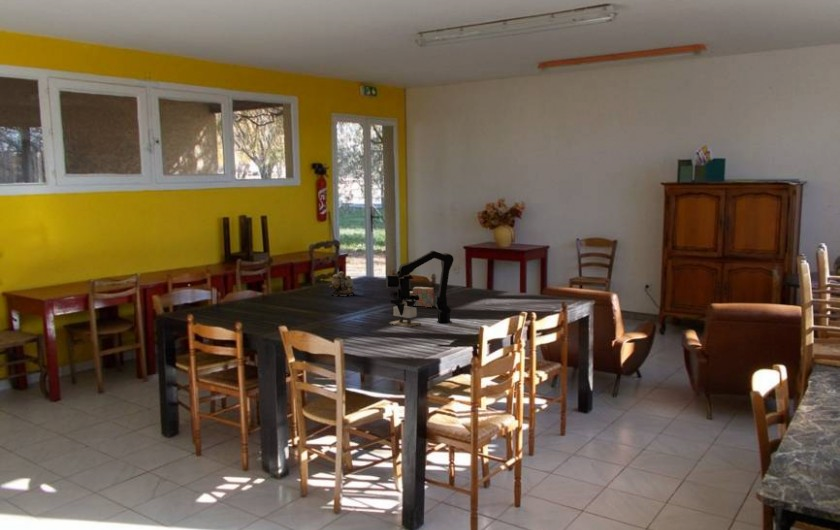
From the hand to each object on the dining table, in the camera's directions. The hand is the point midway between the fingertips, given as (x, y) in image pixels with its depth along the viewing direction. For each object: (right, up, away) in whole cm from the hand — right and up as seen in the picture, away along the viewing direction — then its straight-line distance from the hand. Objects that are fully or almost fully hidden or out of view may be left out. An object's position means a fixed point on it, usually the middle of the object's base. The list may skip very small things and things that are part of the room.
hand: (405, 314), depth 401 cm
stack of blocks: (+6, +1, +57) cm, 57 cm away
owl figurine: (-46, +6, +100) cm, 111 cm away
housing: (0, -1, 0) cm, 1 cm away
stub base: (0, -6, +1) cm, 6 cm away
